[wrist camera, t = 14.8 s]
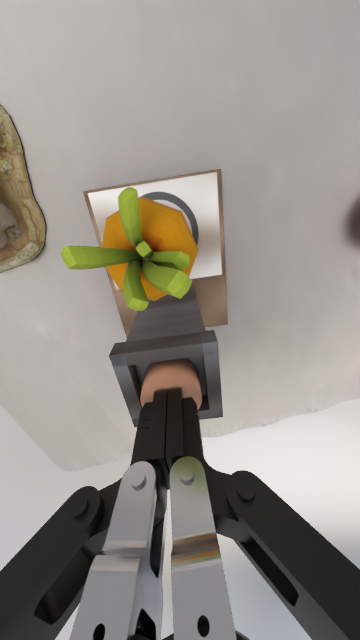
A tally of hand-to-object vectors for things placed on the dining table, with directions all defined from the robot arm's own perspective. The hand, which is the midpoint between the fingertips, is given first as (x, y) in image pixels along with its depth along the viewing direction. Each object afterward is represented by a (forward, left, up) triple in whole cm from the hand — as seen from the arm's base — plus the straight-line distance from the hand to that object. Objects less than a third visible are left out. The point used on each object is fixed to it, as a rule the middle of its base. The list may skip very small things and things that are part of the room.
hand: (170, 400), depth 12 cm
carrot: (-8, 0, -13) cm, 15 cm away
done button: (0, 0, -2) cm, 2 cm away
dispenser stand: (-5, 0, -14) cm, 15 cm away
